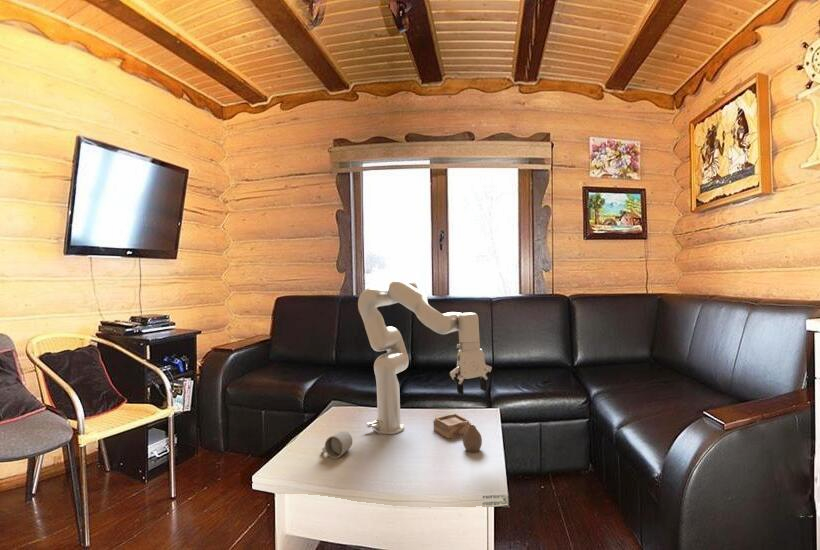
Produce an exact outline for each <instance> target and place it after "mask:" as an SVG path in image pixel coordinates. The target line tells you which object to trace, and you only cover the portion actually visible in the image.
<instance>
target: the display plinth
mask: <svg viewBox="0 0 820 550" xmlns="http://www.w3.org/2000/svg"><path fill="white" fill-rule="evenodd" d="M469 425H472V423H471V422H470V420H469V419H467V418H465V417H463V416H462V415H459V414H457V413H450V414H447V415H443V416H438V417H434V419H433V431H435V432H436V433H438V434H439V433H440V434H439V435H442V436H443V437H444V436H445V437H444V438H446V439H447V438H448V439H447V440H450V439H449V438H451V439H454V438H453V437H455V438H458V437H457V436H459V437H461V436H460V435H464V433H465V431H466V430H467V429H468V426H469Z"/></svg>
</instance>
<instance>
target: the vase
mask: <svg viewBox="0 0 820 550" xmlns="http://www.w3.org/2000/svg"><path fill="white" fill-rule="evenodd" d="M482 443H483V440H482V434H481V432H480V431H479V430H478V428H477V427H476V425H474V424H471V425H469V426H468V429H467V430H466V431H465V433H464V435H463V436H462V444H463V447H464V449H465V450H466V451H467V452H469V453H476V452H478V451H480V450H481V447H482Z"/></svg>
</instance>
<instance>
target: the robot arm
mask: <svg viewBox="0 0 820 550" xmlns="http://www.w3.org/2000/svg"><path fill="white" fill-rule="evenodd" d="M394 304H400V305H402V306H404V307H405V308H407V309H408V310H410V311H411V312H413V313H414V314H415V316H416V318H417V319H418V320H419V322H421V324H423V325H424V326H425V327H426V328H429V329H430V330H431V331H433V332H435V333H437V334H440V335H447V334H450V333H454V332H458V340H459V341H458V343H457V344H456V349H459V350H457V356H456V359H457V360H456V367H455V368H453V369H452V370H451V371H450V372H449V376H450V378H451V379H452V380H453V381H454V382H455V383H456V390H457V391H456V392H457V393H458V394H459V395H461V396H464V384H463V381H464V380H465V379H467V380H469V379H474V378H479V384H480V387H479V388H480V390H481V391H483V392H486V391H487V387H488V385H487V380H488V379H489V377H490V375H491V371H492V369H493V367H492V366H491V365H488V364H487V363H486V360H485V355H484V351H483V349H482V348H481V344H480V327H479V325H480V324H479V316H478V314H477V313H476V312H463V313H462V312H457V311H449V312H445V313H441V312H440V311H439V310H437V309H435V308H434V307H432V306H431V305H430V304H429V297H428V295H427V294H425V293H424V292H422V291H421V290H419V289H418V285H417V284H416V282H414V281H413V280H411V279H407V278H405V279H404V278H403V279H395V280H393V281H392V282H391V283H390V284H389V285H384V286H372V287H368V288H366V289H364V290H363V291H362V292H361V293H360V295H359V297H358V301H357V306H358V307H357V309H358V312H359V314H360V316H361V319H362V321H363V325H364V328H365V331H366V335H367V338H368V341H369V344H370V347H371V348H372V349H373V351H375V352H379V353H380V352H384V351H386V353H383V354H381V355H379V356H378V357H377V358H376V359H375V360H374V363H373V371H374V375H375V381H376V404H377V405H376V407H377V408H376V410H377V411H376V413H377V417H376V418H374V419H375V420H374V421H372V422H371V421H370V422H366V428H368V429H369V428H371V429H373V430H374V431H375V433H378V434H380V435H395V434H399V433H401V432H402V431H405V430H404V429H405V424H404V423H403V422H401V403H400V402H401V398H400V397H401V396H400V383H399V379H398V376H397V374H399V373H401V372H403V371H406V370H407V368H408V367H409V362H410V361H409V355H408V352H407V348H406V345H405V342H404V339H403V336H402V334H401V332H400V330H399V329H398V328H396V327H394V326H392V325H391V326H387V325H386V323H385V320H384V317H383V315H382V313H381V312H380V310H378V308H379V307H385V306H391V305H394ZM456 374H457V376H456Z"/></svg>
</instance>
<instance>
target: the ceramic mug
mask: <svg viewBox="0 0 820 550" xmlns="http://www.w3.org/2000/svg"><path fill="white" fill-rule="evenodd" d="M352 445H353V437H352V434H351V433H349V432H348V431H346V430H342V431H341V430H340V431H338V432H336V433H335V434H333V435H331V436H329V437H328V438H327V439H326V440H325V442H324V447H322V453H326V454H327V455H328V456H329V457H330V458H332V459H338V458H340V457H341V456H343V455H344V454H345V453H346V452H348V451H349V450H350V448H351V447H352Z"/></svg>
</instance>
